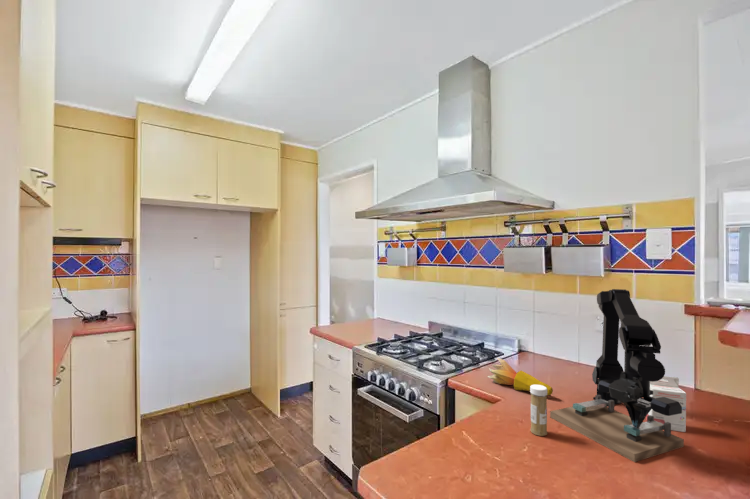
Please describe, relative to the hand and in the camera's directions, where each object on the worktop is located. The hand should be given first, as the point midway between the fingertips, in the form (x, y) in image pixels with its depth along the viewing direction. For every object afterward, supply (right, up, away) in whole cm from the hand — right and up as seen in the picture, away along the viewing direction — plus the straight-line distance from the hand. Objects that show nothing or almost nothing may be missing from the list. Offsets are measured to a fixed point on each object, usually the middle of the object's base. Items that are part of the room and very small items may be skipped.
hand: (636, 427), depth 98 cm
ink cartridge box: (+17, -5, +11) cm, 21 cm away
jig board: (-1, -5, +8) cm, 10 cm away
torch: (-16, -5, +40) cm, 43 cm away
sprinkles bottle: (-24, -5, +7) cm, 25 cm away
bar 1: (-2, -2, +16) cm, 17 cm away
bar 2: (+4, -1, +1) cm, 4 cm away
